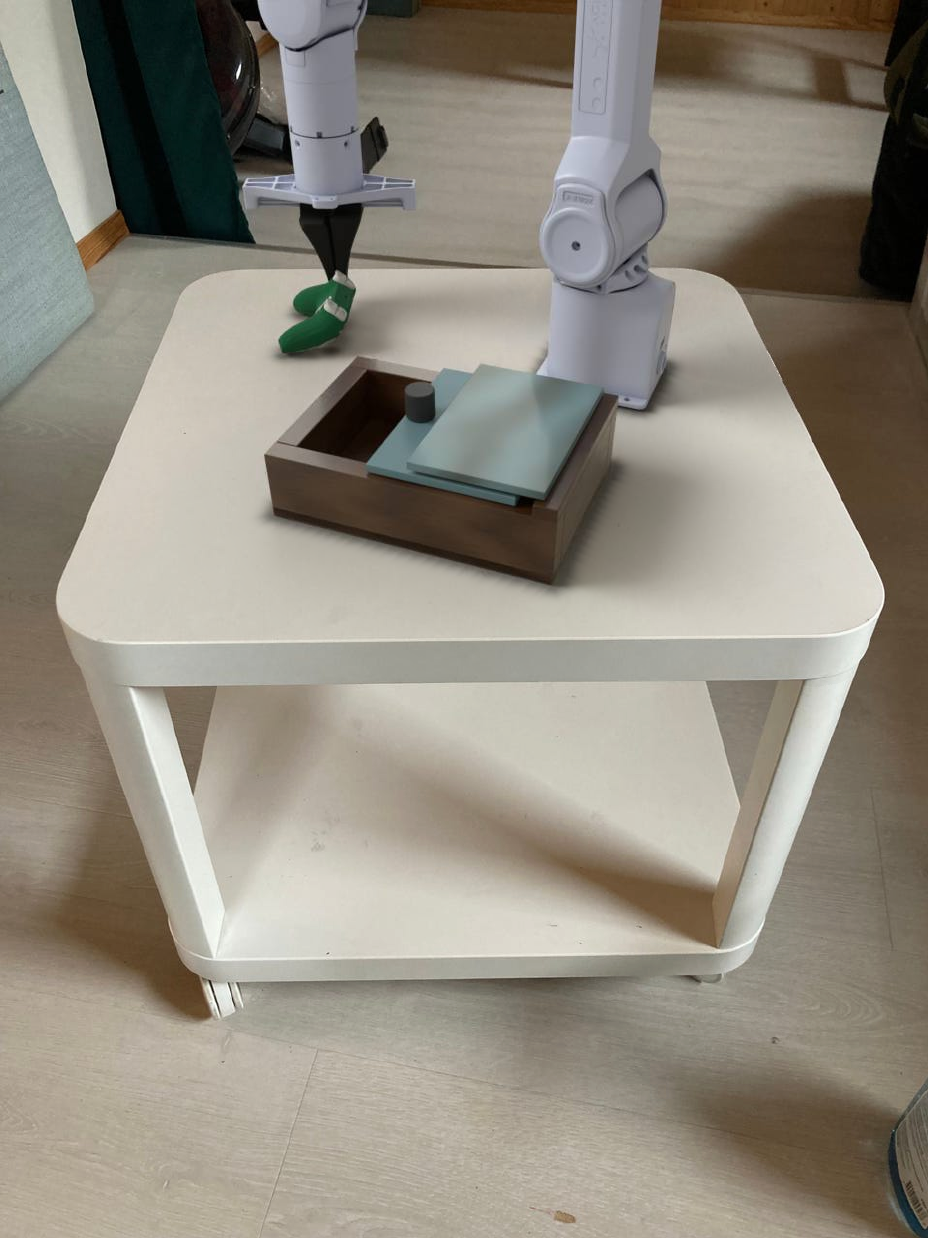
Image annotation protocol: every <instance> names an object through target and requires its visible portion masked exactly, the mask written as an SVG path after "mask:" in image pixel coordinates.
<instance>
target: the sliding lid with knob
mask: <svg viewBox="0 0 928 1238" xmlns="http://www.w3.org/2000/svg"><path fill="white" fill-rule="evenodd" d="M439 372H440V373H439V374H438V375H437V377H436V378H435V379H434V380H433V382H432V383H431V384H429V383H426V382H414V383H411V384H409V385H407V386H406V388H405V409H406V415H405V416H404V418H403V419H402V420H401V421H400V423H399V424H398V425H397V426H396V427H395V429H394V430H393V431H392V432H391V434H390V435H389V436H388V437H387V439H386V440H385V441H384V442H383V444H382V445H381V446H380V447H379V449H378V450H377V451H376V452H375V453H374V455H373V456H372V457H371V458H370V460H369V461H368V462H367V463H366V471H367V472H370V473H374V474H378V475H383V476H387V477H391V478H396V479H400V480H404V481H409V482H413V483H417V484H422V485H426V486H430V487H435V488H439V489H443V490H447V491H452V492H456V493H460V494H465V495H469V496H473V497H478V498H482V499H486V500H491V501H495V502H499V503H504V504H508V505H512V506H515V505H516V503H517V502H518V500H519V498H520V497H521V495H517V494H513V493H508V492H504V491H500V490H495V489H491V488H487V487H482V486H478V485H473V484H469V483H465V482H460V481H456V480H452V479H447V478H443V477H438V476H434V475H430V474H425V473H421V472H416V471H412V470H408V469H407V465H406V462H407V460H408V459H409V457H410V456H411V455H412V454H413V452H414V451H415V450H416V448H417V447H418V446H419V444H420V443H421V442H422V440H423V439H424V438H425V436H426V435H427V434H428V432H429V431H430V430H431V428H432V427H433V426H434V424H435V423H436V422H437V421H438V419H439V418H440V417H441V415H442V414H443V413H444V411H445V410H446V409H447V407H448V406H449V405H450V403H451V402H452V401H453V399H454V398H455V397H456V395H457V394H458V393H459V392H460V390H461V389H462V388H463V386H464V385H465V384H466V382H467V381H468V380H469V378H470V377H471V376H472V374H473V373H474V372H473V373H472V372H467V371H463V370H458V369H452V368H446V367H443V368H442V369H441V371H439Z"/></svg>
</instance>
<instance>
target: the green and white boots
mask: <svg viewBox="0 0 928 1238" xmlns="http://www.w3.org/2000/svg"><path fill="white" fill-rule="evenodd" d="M356 293H357V288H356V284H355V283H354V282H353V281H352V280H351V278H350V277H348V278H346V275H344V274H343V273H341V272H340V271H338V270H336V274H335V275H334V277H332V278H331V280H330V281H329V282H328V281H327V282H326V283H321V284H317V285H312V286H309V287H306V288H304V289H302V290H300V291H299V292H298V293H297V294H296V295H295V296H294V298H293V300H292V307H293V308H294V310H295V311H296V312H297V313H299V314H302V315H310V316H309V317H307V318H306V319H304V320H302V321H300V322H297V323H296V324H294V325H292V326H290V327H289V328H288V329H286V330H285V331H284V332H282V334H281V335H280V336H279V338H278V339H277V342H278V345H279V348H280V350H281V353H282V354H294V353H301V352H306V351H308V350H311V349H315V348H318V347H319V346H323V345H324V344H326V343H327V342H334V341H335V340H336V339H337V338H338V337H339V336H340V334H341V332H342V331H343V330H344V329H345V325H346V324H347V322H348V320H349V318H350V313H351V309H352V306H353V302H354V299H355V295H356ZM311 315H312V316H311Z"/></svg>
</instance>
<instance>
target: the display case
mask: <svg viewBox="0 0 928 1238" xmlns="http://www.w3.org/2000/svg"><path fill="white" fill-rule="evenodd" d="M440 372H441V371H437V370H431V369H427V368H421V367H415V366H411V365H406V364H401V363H395V362H392V361H391V362H390V361H385V360H380V359H375V358H370V357H365V356H360V355H358V356H356V357H355V358H354V359H353V360H352V361H351V362H350V363H349V365H347V366H346V367H345V369H343V371H342V372H341V373H340V374H339V375H338V376H337V377H336V378H335V379H334V380H333V381H332V382H331V383H330V385H329V386H327V388H326V389H325V390H324V391H323V392H322V393H321V394H320V395H319V396H318V397H317V398H316V399H315V400H314V402H312V404H310V406H309V407H308V408H307V409H306V410H305V411H304V412H302V414H300V416H299V417H298V418H297V419H296V420H295V421H294V422H293V423H292V424H291V425H290V426H289V427H288V429H287V430H286V431H285V432H284V433H283V434H282V435H281V436H280V437H279V438H278V439H277V440H276V441H275V442H274V443H273V444H272V445H271V446H270V447H269V448H268V450H266V452H265V453H264V454H263V458H264V463H265V469H266V470H265V471H266V476H267V481H268V487H269V494H270V498H271V499H270V500H271V505H272V511H273V516H274V517H279V518H283V519H287V520H291V521H295V522H299V523H303V524H307V525H311V526H315V527H318V528H323V529H326V530H331V531H334V532H339V533H342V534H346V535H350V536H355V537H358V538H362V539H366V540H371V541H375V542H379V543H383V544H386V545H390V546H394V547H398V548H402V549H406V550H409V551H413V552H418V553H422V554H425V555H429V556H433V557H438V558H442V559H446V560H450V561H454V562H458V563H461V564H466V565H468V566H469V565H470V566H473V567H477V568H481V569H486V570H490V571H494V572H497V573H501V574H505V575H510V576H513V577H516V578H517V577H518V578H522V579H526V580H530V581H533V582H537V583H541V584H545V585H549V586H553V584H554V582H555V581H556V579H557V577H558V574H559V573H560V571H561V568H562V567H563V564H564V562H565V560H566V558H567V556H568V554H569V552H570V550H571V548H572V546H573V544H574V542H575V539H576V538H577V536H578V534H579V531H580V530H581V528H582V526H583V523H584V521H585V519H586V517H587V516H588V513H589V511H590V509H591V507H592V506H593V503H594V501H595V499H596V497H597V495H598V494H599V491H600V489H601V487H602V484H603V482H604V480H605V479H606V477H607V474H608V473H609V470H610V468H611V467H612V466H611V465H612V457H613V448H614V440H615V433H616V432H615V431H616V423H617V415H618V408H619V405H618V400H619V396H618V395H613V394H608V393H603V392H604V387H600V386H595V385H589V384H584V383H579V382H574V381H569V380H563V379H558V378H553V377H548V376H543V375H537V374H536V373H532V372H526V371H521V370H516V369H512V368H506V367H500V366H495V365H490V364H486V363H480V364H479V365H478V366H477V367H476V369H475V370H474V371H473V374H472V376H471V377H470V378H469V380H468V381H467V382H466V384H465V385H464V386H463V388H462V389H461V390H460V392H459V393H458V394H457V395H456V397H455V398H454V399H453V401H452V402H451V403H450V405H449V406H448V407H447V409H446V410H445V411H444V413H443V414H442V415H441V417H440V418H439V419H438V421H437V422H436V423H435V424H434V426H433V427H432V428H431V430H430V431H429V432H428V434H427V435H426V436H425V438H424V439H423V440H422V442H421V443H420V444H419V446H418V447H417V448H416V450H415V451H414V452H413V454H412V455H411V456H410V457H409V459H408V460H407V462H406V465H407V469H408V470H412V471H416V472H421V473H425V474H430V475H434V476H438V477H443V478H447V479H452V480H456V481H460V482H465V483H469V484H473V485H478V486H482V487H487V488H491V489H495V490H500V491H504V492H508V493H513V494H517V495H521V497H520V498H519V500H518V502H517V503H516V505H515V506H512V505H508V504H504V503H499V502H495V501H491V500H486V499H482V498H478V497H473V496H469V495H465V494H460V493H456V492H452V491H447V490H443V489H439V488H435V487H430V486H426V485H422V484H417V483H413V482H409V481H404V480H400V479H396V478H391V477H387V476H383V475H378V474H374V473H370V472H367V471H366V463H367V462H368V461H369V460H370V458H371V457H372V456H373V455H374V453H375V452H376V451H377V450H378V449H379V447H380V446H381V445H382V444H383V442H384V441H385V440H386V439H387V437H388V436H389V435H390V434H391V432H392V431H393V430H394V429H395V427H396V426H397V425H398V424H399V423H400V421H401V420H402V419H403V418H404V416H405V415H406V409H405V388H406V386H407V385H409V384H411V383H414V382H426V383H429V384H431V383H432V382H433V380H434V379H435V378H436V377H437V375H438V374H439V373H440Z"/></svg>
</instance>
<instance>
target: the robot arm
mask: <svg viewBox="0 0 928 1238" xmlns="http://www.w3.org/2000/svg"><path fill="white" fill-rule="evenodd" d="M576 3H577V4H576V24H575V42H574V43H575V44H574V45H575V46H574V47H575V48H574V64H573V66H574V67H573V85H572V103H571V104H572V105H571V106H572V107H571V126H570V127H571V128H570V138H569V142H568V144H567V147H566V149H565V151H564V153H563V156H562V158H561V160H560V163H559V165H558V168H557V170H556V172H555V175H554V178H553V182H552V183H553V186H552V188H553V189H552V198H551V203H550V205H549V208H548V210H547V212H546V214H545V215H544V217H543V219H542V222H541V225H540V228H539V234H538V235H539V239H538V241H539V242H538V243H539V248H540V252H541V256H542V259H543V260H544V262H545V265H546V266H547V267H548V269H549V270H550V272H551V273H552V280H551V297H550V311H549V312H550V314H549V327H548V329H549V330H548V343H547V344H548V345H547V356H546V357H545V359H544V361H543V362H542V364H541V365H540V367H539V368H538V370H537V372H535V374H537V375H543V376H548V377H553V378H558V379H563V380H569V381H574V382H579V383H584V384H589V385H595V386H600V387H604V392H603V393H608V394H613V395H618V396H619V400H618V407H619V406H620V407H624V408H629V409H635V410H644V409H646V408H647V406H648V403H649V402H650V399H651V397H652V396H653V393H654V391H655V389H656V388H657V385H658V383H659V381H660V378H661V377H662V375H663V374H664V370H665V368H666V366H667V356H668V354H667V353H668V347H669V340H670V334H671V327H672V322H673V321H672V320H673V314H674V307H675V301H676V282H675V281H673V280H671V279H666V278H664V277H661V276H658V275H657V274H655V273H654V272H651V271H650V270H649V268H650V266H649V265H650V264H649V263H650V260H649V254H648V250H649V249H648V248H649V242H651V241H653V240H654V239H655V237H657V236H658V235H659V234H660V232H661V231H662V229H663V227H664V224H665V222H666V220H667V215H668V197H667V193H666V190H665V187H664V184H663V181H662V177H661V160H662V150H661V148H660V147H659V146H658V144H657V143H656V141H655V140H654V139H653V137H652V136H651V135H650V132H649V131H650V121H651V114H652V113H651V111H652V103H653V102H652V100H653V91H654V82H655V81H654V79H655V71H656V62H657V61H656V60H657V52H658V51H657V49H658V42H659V41H658V40H659V31H660V20H661V11H662V3H663V1H662V0H577V2H576ZM257 5H258V10H259V14H260V17H261V19H262V21H263V24H264V26H265V28H266V29H267V31H268V32H269V33H270V35H271V36H272V38H273V39H275V40H276V41H277V42H278V45H279V55H280V62H281V63H280V64H281V70H282V80H283V88H284V95H285V96H284V97H285V104H286V114H287V122H288V123H287V124H288V130H289V131H288V132H289V139H290V147H291V157H292V165H293V166H292V167H293V173H294V174H293V173H291V174H284V175H277V176H267V177H266V176H265V177H251V178H250V177H247V178H245V180H244V183H243V185H242V187H241V188H242V194H243V200H244V201H243V202H244V206H245V210H259V209H260V207H269V208H271V207H272V208H274V207H275V208H277V207H279V208H281V207H282V208H285V207H286V208H291V207H292V208H293V207H294V208H299V217H298V223H299V226H300V229H301V231H302V232H303V234H304V235H305V236H306V238H307V239H308V241H309V242H310V245H311V246H312V248H313V249H314V251H315V252H316V255H317V257H318V259H319V261H320V263H321V265H322V268H323V270H324V274H325V276H326V279H327V282H329V281H330V280H331V278H332V277H334V275H335V274H336V270H338V271H340V272H341V273H343V274H344V275H346V278H349V265H350V258H351V253H352V248H353V244H354V241H355V239H356V236H357V233H358V231H359V228H360V225H361V223H362V218H363V215H364V214H363V213H364V211H365V210H364V209H365V208H402V210H403V211H416V208H417V202H418V200H417V199H418V198H417V180H416V178H398V177H390V176H383V175H376V174H369V173H364V172H363V171H364V170H363V155H362V154H363V153H362V141H361V128H360V119H359V118H360V115H359V114H360V113H359V100H358V87H357V85H358V84H357V76H356V75H357V72H356V58H355V55H356V51H358V49H359V47H358V32H359V28H360V25H361V24H362V23H363V21H364V19H365V16H366V12H367V8H368V0H257Z"/></svg>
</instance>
